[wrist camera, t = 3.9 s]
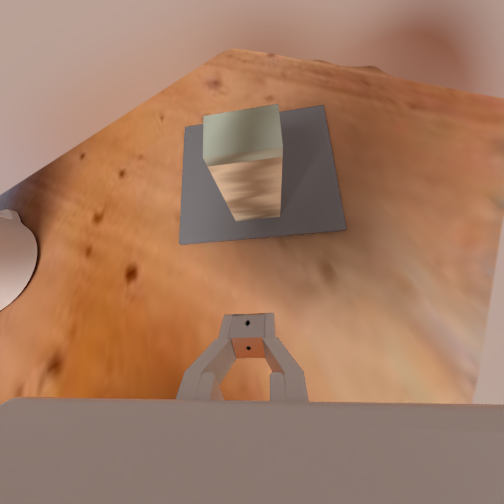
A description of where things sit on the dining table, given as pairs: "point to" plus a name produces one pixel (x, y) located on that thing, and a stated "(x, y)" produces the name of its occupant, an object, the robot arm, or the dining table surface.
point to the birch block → (246, 160)
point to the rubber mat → (292, 187)
